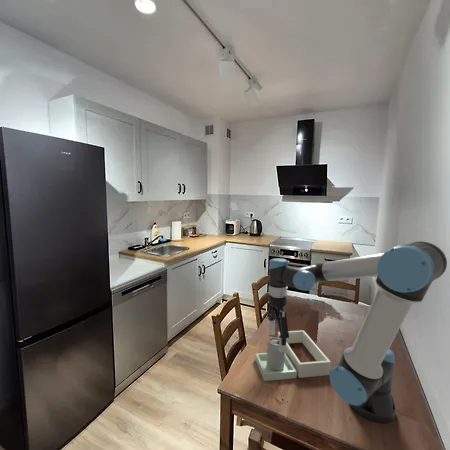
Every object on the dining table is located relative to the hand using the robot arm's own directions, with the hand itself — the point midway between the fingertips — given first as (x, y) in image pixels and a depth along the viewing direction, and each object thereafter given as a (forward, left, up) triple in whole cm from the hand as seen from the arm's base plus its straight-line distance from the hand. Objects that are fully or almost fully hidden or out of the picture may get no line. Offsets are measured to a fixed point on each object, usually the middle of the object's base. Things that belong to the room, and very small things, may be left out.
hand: (276, 342), depth 112 cm
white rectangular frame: (+6, -15, -12) cm, 20 cm away
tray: (0, 0, -12) cm, 12 cm away
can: (0, 0, -12) cm, 12 cm away
